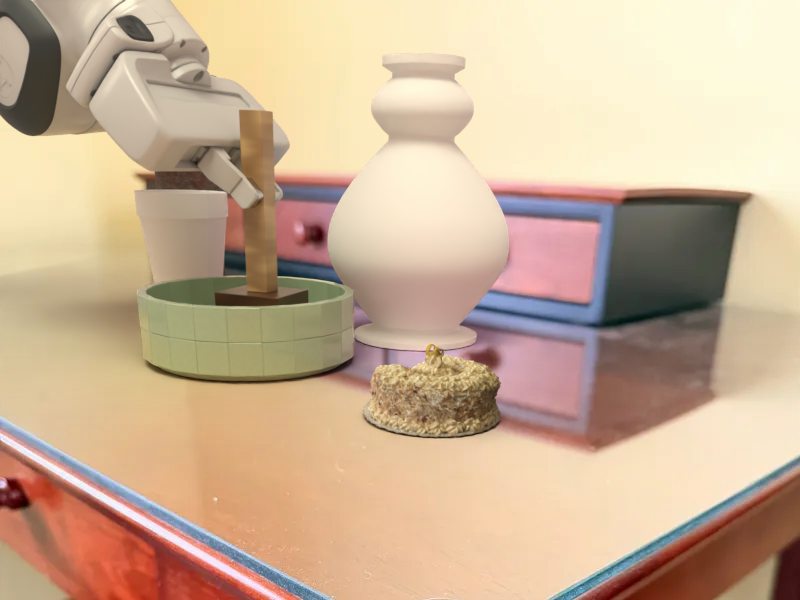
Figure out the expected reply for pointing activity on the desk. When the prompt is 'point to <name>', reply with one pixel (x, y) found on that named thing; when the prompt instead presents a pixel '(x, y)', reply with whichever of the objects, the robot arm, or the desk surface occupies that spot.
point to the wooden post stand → (260, 221)
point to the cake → (434, 397)
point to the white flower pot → (183, 232)
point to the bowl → (245, 330)
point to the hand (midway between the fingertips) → (265, 202)
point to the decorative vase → (419, 215)
